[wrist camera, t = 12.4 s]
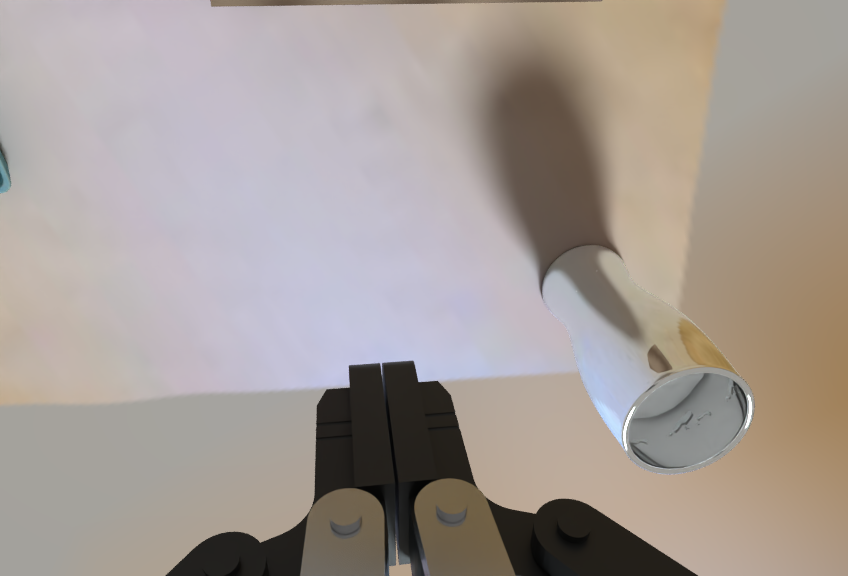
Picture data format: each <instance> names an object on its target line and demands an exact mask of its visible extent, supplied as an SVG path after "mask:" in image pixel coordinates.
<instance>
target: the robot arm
mask: <svg viewBox="0 0 848 576" xmlns="http://www.w3.org/2000/svg"><path fill="white" fill-rule="evenodd" d="M349 379H350V388H340V389H327V390H326V391H325V393H324V395H323V396H322V398H321V400H320V401H319V403H318V405H317V421H316V422H317V423H316V424H317V427H316V461H315V496H314V502H313V505H312V507H311V509H310V511H309V513H308V514H307V516H306V517H305V518H304V519H303V520H302V521H301V522H300V523H299V524H298V525H297V526H295V527H294V528H292V529H291V530H289V531H287V532H285V533H283V534H281V535H279V536H276V537H274V538H271V539H269V540H266V541H264V542H261V543H260V542H259V541H258V540H257V539H256V538H254V537H253V536H251V535H249V534H245V533H241V532H226V533H221V534H218V535H215V536H212V537H210V538H208V539H206V540H205V541H203V542H202V543H201V544H199V545H198V546H196V547H195V548H194V549H193V550H192V551H191V552H190V553H189V554H188V555H187V556H186V557H185V558H184V559H183V560H182V561H180V562H179V563H178V564H177V565H176V566H175V567H174V568H173V569H172V570H171V571H170V572H169V573H168V574H167V575H166V576H389V566H394V565H396V542H395V541H397V550H398V559H399V564H400V565H401V564H409V563H411V570H412V576H698V575H696V574H695V573H693V572H691V571H690V570H688V569H687V568H685V567H684V566H682V565H681V564H679V563H678V562H676V561H674V560H673V559H671V558H670V557H668V556H667V555H665V554H664V553H662V552H661V551H659V550H657V549H656V548H654V547H653V546H651V545H650V544H648V543H647V542H645V541H644V540H642V539H641V538H639V537H637V536H636V535H634V534H633V533H631V532H630V531H628V530H627V529H625V528H624V527H622V526H621V525H619V524H618V523H616V522H614V521H613V520H611V519H610V518H608V517H607V516H605V515H604V514H602V513H601V512H599V511H597V510H596V509H594V508H592V507H591V506H589V505H588V504H585V503H583V502H580V501H576V500H572V499H556V500H552V501H549V502H548V503H546V504H544V505H543V506H542V507H541V508H540V509H539V510H538V511H537V513H536V514H533V513H527V512H522V511H517V510H512V509H508V508H504V507H502V506H499V505H497V504H495V503H493V502H492V501H490V500H489V499H487V498H486V497H485V496H484V495H483V493H482V492H481V491H480V490H479V489H478V488H477V486H476V484H475V482H474V479H473V475H472V472H471V468H470V464H469V461H468V457H467V453H466V450H465V446H464V443H463V439H462V435H461V431H460V429H459V424H458V420H457V417H456V415H455V410H454V406H453V402H452V399H451V395H450V394H449V393H448V392H447V391H446V390H445V389H444V387H443V386H442V385H441V384H440V383H439V382H438V381H430V382H418V378H417V374H416V369H415V364H414V361H403V362H388V363H382V374H381V366H380V363H376V364H362V365H349Z"/></svg>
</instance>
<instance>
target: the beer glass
mask: <svg viewBox="0 0 848 576" xmlns="http://www.w3.org/2000/svg"><path fill="white" fill-rule="evenodd" d="M542 295H543V300H544V303H545V305H546V307H547V308H548V310H549V311H550V312H551V313H552V315H553V316H554V317H556V318H557V319H558V320H559V321H560V322H561V323H562V324H563V325H564V326H565V327H566V329H567V331H568V334H569V337H570V341H571V345H572V349H573V353H574V356H575V360H576V364H577V367H578V370H579V373H580V376H581V379H582V381H583V384H584V386H585V388H586V390H587V392H588V394H589V397H590V399H591V401H592V402H593V404H594V406H595V407H596V409H597V411H598V412H599V414H600V416H601V417H602V419H603V420H604V422H605V423H606V425H607V426H608V427H609V429H610V430H611V432H612V433H613V435H614V436H615V437H616V439H617V440H618V441H619V443H620V444H621V446H622V447H623V449H624V451H625V452H626V454H627V456H628V457H629V458H630V460H631V461H632V462H634V463H635V464H636V465H637V466H639V467H641V468H643V469H645V470H647V471H650V472H654V473H659V474H680V473H686V472H691V471H694V470H697V469H700V468H702V467H705V466H707V465H710V464H712V463H713V462H715V461H717V460H719V459H720V458H722V457H723V456H724V455H726V454H727V453H728V452H729V451H731V450H732V449H733V448H734V447H735V446H736V445H737V444H738V443H739V442H740V440H741V439H742V438H743V437H744V435H745V434H746V432H747V430H748V429H749V426H750V424H751V422H752V419H753V415H754V408H755V403H754V397H753V393H752V391H751V389H750V387H749V385H748V384H747V382H746V381H745V380H744V379H742V377H740V375H739V374H738V373H737V372H736V370H735V369H734V368H733V366H732V365H731V364H730V362H729V361H728V360H727V359H726V357H725V356H724V355H723V354H722V352H721V351H720V350H719V349H718V347H717V346H716V345H715V344H714V343H713V342H712V341H711V340H710V339H709V338H708V336H707V335H706V334H705V333H704V332H703V331H702V330H701V329H700V328H699V327H698V326H697V325H695V324H694V323H693V322H692V321H691V320H690V319H689V318H688V317H687V316H685V315H684V314H682V313H681V312H680V311H678V310H677V309H675V308H674V307H673V306H671V305H670V304H668V303H667V302H665V301H663V300H662V299H660V298H658V297H657V296H655V295H654V294H652V293H650V292H648V291H647V290H645V289H643V288H642V287H640V286H639V285H637V284H636V283H635V282H634V281H633V279H632V278H631V276H630V274H629V272H628V269H627V267H626V265H625V264H624V262H623V260H622V259H621V258H620V257H619V256H618V255H617V254H616V253H615V252H614V251H612V250H610V249H608V248H606V247H603V246H598V245H584V246H579V247H576V248H573V249H571V250H569V251H567V252H565V253H564V254H562V255H561V256H559V257H558V258H557V259H556V260H555V261H554V262H553V263H552V265H551V266H550V267H549V269H548V270H547V272H546V274H545V277H544V280H543V284H542Z"/></svg>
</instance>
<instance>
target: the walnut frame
mask: <svg viewBox="0 0 848 576" xmlns="http://www.w3.org/2000/svg"><path fill="white" fill-rule="evenodd" d="M588 1H602V0H211V7H213V6H288V5H363V4H438V3H513V2H588Z"/></svg>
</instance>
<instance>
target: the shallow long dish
mask: <svg viewBox="0 0 848 576" xmlns="http://www.w3.org/2000/svg"><path fill="white" fill-rule="evenodd" d="M10 187H11V181H10V174H9V170H8V166H7V163H6V161H5V159H4V157H3V155H2V153H1V150H0V193H4V192H7V191H8V190H9V189H10Z"/></svg>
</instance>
